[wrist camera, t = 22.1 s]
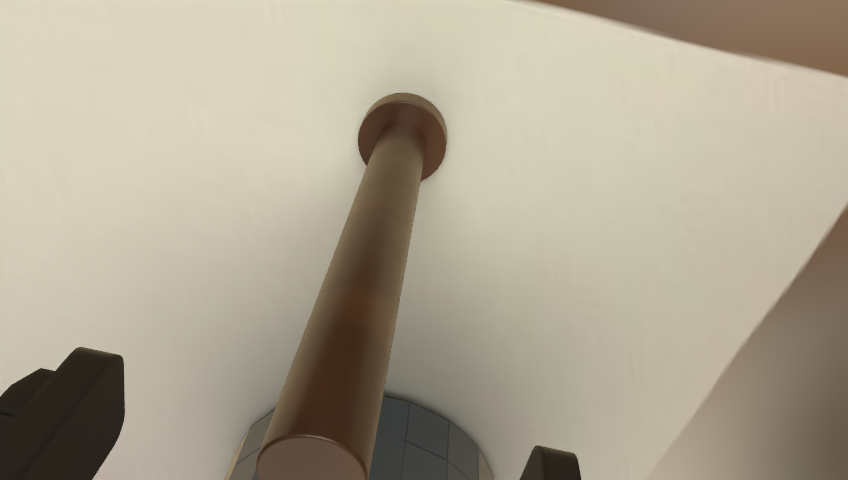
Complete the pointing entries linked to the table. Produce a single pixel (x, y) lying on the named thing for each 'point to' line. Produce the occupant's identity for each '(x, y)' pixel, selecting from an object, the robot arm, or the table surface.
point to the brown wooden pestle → (356, 306)
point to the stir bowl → (393, 448)
